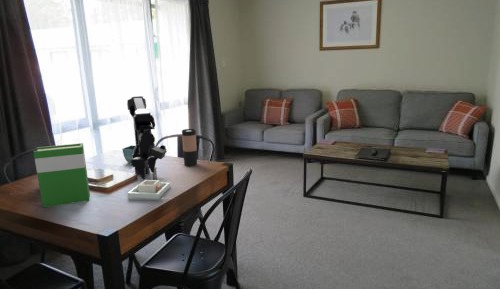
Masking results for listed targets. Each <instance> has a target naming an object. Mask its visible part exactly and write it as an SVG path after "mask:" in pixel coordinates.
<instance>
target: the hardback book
mask: <svg viewBox="0 0 500 289" xmlns="http://www.w3.org/2000/svg"><path fill="white" fill-rule="evenodd" d="M33 158H34V162H35V168H36V174H37V180H38V185H39V191H40V198H41V204H42V208H47V207H54V206H62V205H68V204H75V203H82V202H88V201H90V199H91V197H90V196H91V193H90V185H89V179H88V178H89V177H88V172H87V171H88V170H87V163H86V156H85V149H84V143H83V142H82V143H70V144H60V145H50V146H48V145H47V146H39V147H36V150H33Z"/></svg>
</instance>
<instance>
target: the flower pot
mask: <svg viewBox="0 0 500 289" xmlns="http://www.w3.org/2000/svg"><path fill="white" fill-rule="evenodd" d="M134 147H135V145H133V144H132V145H129V146H126V147H123V148H122V154H123V157H124V160H125V161H126V162H127V164H131V160H132V154H133V149H134Z"/></svg>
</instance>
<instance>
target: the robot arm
mask: <svg viewBox="0 0 500 289" xmlns="http://www.w3.org/2000/svg"><path fill="white" fill-rule="evenodd" d="M126 102H127V103H126V105H127V110H128V112H129V114H130V116H131V117H132V118H133V129H134V131H133V132H134V141H135V145H134V146H135V147H134V149H133V154H132V160H131V163H130V166H131V167H133V168H134V172H135V175H138V176H140V178H142V180H146V175H149V174H150V173H152V172H154V169H155V167H156V164H157V161H158V160H163V158H165V156H166V154H167V151H168V150H167V148H166V145H163V144H161V145H160V146H156V144H155V141H156V138H155V135H154V134H153V133H152V130H155V128H156V123H155V122H156V121H155V118H154V116H153V114H151V112H150V110H148V109H146V108H147V101H146V99H145V98H144V96H143V95H133V96H131V98H129V99H127V101H126Z"/></svg>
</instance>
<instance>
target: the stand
mask: <svg viewBox="0 0 500 289" xmlns="http://www.w3.org/2000/svg"><path fill="white" fill-rule="evenodd" d="M157 169H158V168H157V166H155V169H154V172H151V173H152V177H151V176H149V178H147V180H160V182H163V183H167V181H168V180H169V179H170V178H169V177H158V174H157Z"/></svg>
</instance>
